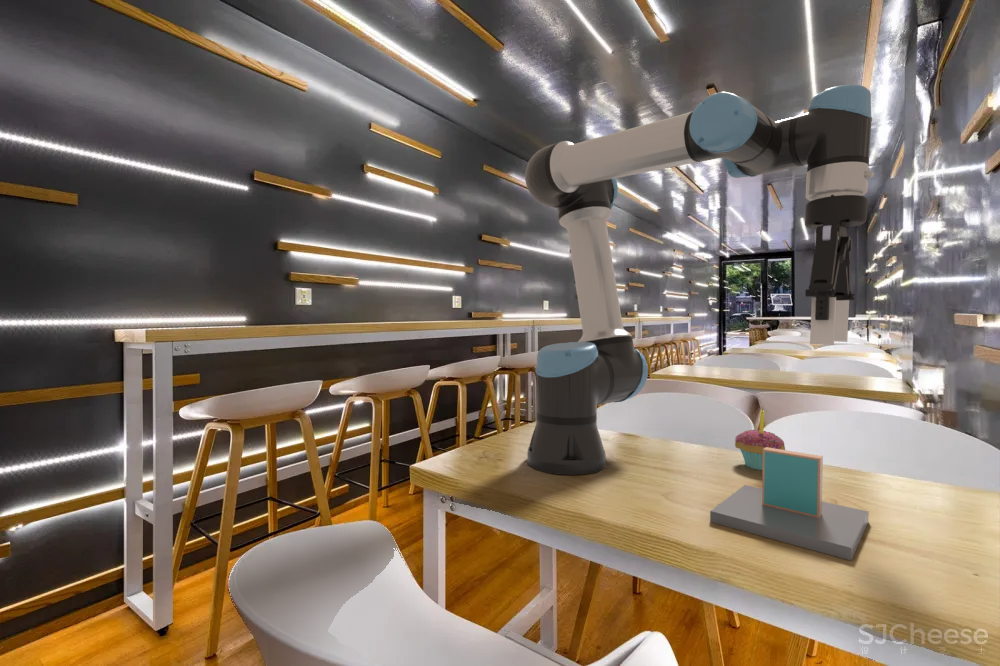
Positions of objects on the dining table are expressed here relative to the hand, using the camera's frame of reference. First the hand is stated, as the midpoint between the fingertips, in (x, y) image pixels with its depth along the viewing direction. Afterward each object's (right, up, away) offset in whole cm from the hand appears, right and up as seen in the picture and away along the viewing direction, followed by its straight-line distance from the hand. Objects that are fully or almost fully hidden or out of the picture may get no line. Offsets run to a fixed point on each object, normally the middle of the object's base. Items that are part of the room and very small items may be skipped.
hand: (829, 343), depth 72 cm
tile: (-8, -23, -4) cm, 25 cm away
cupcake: (0, -24, +21) cm, 32 cm away
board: (-9, -25, -5) cm, 27 cm away
